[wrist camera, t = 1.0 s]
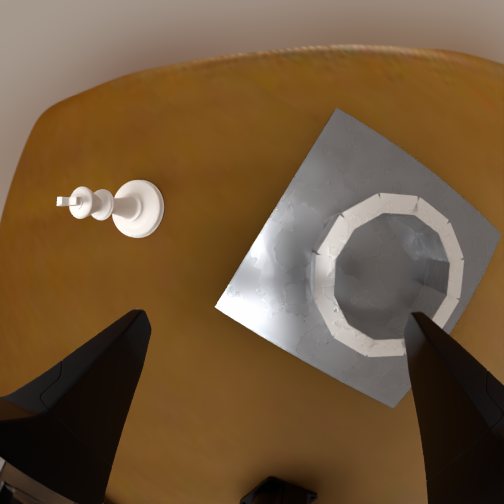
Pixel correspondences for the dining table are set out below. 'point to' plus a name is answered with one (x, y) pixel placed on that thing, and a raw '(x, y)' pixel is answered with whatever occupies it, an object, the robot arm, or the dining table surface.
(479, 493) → the robot arm
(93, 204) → the chess piece
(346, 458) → the dining table surface
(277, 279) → the duct collar
